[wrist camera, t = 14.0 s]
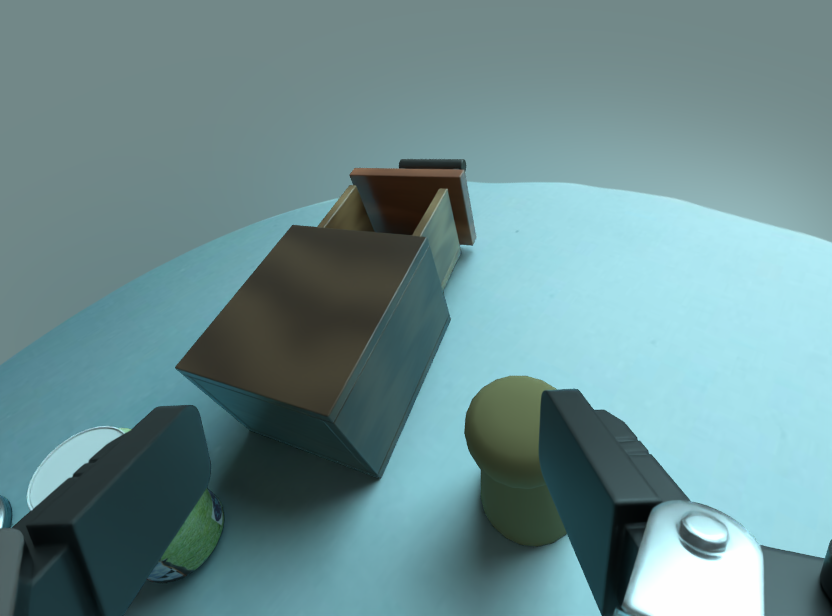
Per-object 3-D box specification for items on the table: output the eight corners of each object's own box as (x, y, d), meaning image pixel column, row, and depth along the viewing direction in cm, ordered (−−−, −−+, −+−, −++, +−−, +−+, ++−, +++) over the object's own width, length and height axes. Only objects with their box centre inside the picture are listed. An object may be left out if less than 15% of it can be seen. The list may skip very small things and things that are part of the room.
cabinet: (335, 299, 43) (292, 224, 36) (451, 319, 38) (427, 236, 31) (249, 430, 35) (173, 367, 28) (381, 479, 30) (328, 416, 23)
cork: (553, 569, 24) (552, 512, 16) (462, 509, 27) (424, 436, 19) (595, 476, 27) (612, 387, 19) (508, 431, 30) (490, 338, 22)
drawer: (398, 199, 50) (378, 137, 45) (492, 203, 46) (483, 134, 40) (317, 323, 40) (277, 264, 34) (427, 346, 35) (402, 281, 30)
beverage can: (150, 517, 32) (0, 455, 23) (241, 469, 33) (128, 391, 24) (149, 608, 28) (-35, 574, 19) (253, 550, 29) (122, 492, 20)
